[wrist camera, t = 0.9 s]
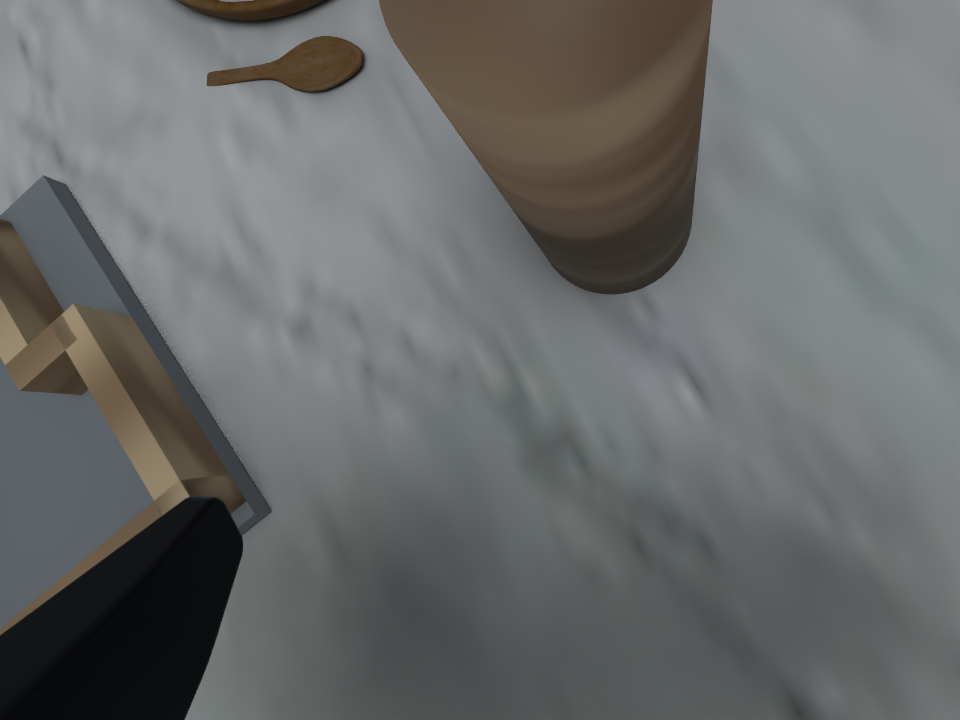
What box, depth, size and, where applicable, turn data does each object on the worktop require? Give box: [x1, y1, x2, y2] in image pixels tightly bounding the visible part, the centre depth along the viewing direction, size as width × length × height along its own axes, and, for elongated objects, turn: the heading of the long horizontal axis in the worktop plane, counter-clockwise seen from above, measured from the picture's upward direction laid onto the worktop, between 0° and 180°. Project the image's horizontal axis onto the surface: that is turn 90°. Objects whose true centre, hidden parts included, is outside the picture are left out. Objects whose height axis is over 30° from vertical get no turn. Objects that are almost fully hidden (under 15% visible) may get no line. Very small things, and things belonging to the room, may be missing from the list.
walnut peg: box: [379, 0, 713, 294], centre depth 16 cm, size 4×4×13 cm
